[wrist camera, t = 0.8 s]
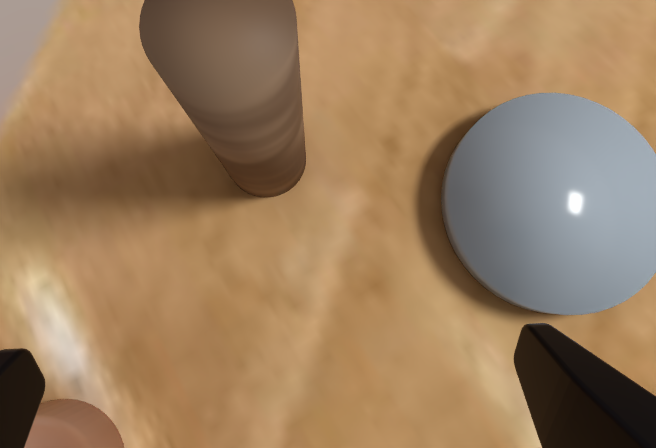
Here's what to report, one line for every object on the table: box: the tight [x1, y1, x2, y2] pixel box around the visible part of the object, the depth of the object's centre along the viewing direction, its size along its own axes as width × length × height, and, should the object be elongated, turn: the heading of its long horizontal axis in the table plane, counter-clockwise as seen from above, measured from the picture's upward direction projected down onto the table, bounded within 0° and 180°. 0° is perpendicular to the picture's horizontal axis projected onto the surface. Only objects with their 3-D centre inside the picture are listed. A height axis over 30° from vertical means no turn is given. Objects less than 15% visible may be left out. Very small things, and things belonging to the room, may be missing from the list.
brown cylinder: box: [139, 0, 306, 197], centre depth 16 cm, size 4×4×11 cm
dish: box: [441, 93, 656, 315], centre depth 21 cm, size 11×11×1 cm
